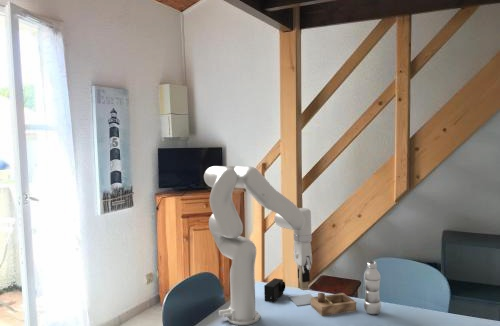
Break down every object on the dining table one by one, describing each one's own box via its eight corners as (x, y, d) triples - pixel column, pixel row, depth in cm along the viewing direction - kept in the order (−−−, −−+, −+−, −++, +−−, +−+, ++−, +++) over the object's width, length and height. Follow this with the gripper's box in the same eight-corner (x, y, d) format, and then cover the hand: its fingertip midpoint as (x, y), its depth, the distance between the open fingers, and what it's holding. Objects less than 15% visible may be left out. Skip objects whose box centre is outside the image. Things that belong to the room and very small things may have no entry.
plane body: (321, 316, 156) (321, 299, 156) (310, 305, 166) (310, 290, 166) (356, 310, 160) (356, 294, 160) (343, 301, 170) (343, 286, 170)
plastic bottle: (363, 315, 156) (362, 264, 155) (364, 308, 162) (364, 259, 161) (380, 317, 154) (380, 265, 153) (381, 310, 160) (380, 260, 159)
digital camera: (276, 303, 170) (275, 287, 169) (264, 301, 172) (264, 285, 172) (285, 295, 179) (285, 279, 178) (274, 293, 181) (274, 277, 181)
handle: (311, 291, 169) (310, 256, 168) (296, 290, 170) (295, 256, 170) (312, 287, 174) (311, 253, 173) (297, 286, 175) (296, 252, 174)
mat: (297, 306, 166) (297, 305, 166) (288, 297, 176) (288, 296, 176) (319, 303, 169) (319, 302, 169) (309, 294, 178) (309, 293, 178)
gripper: (287, 234, 178) (288, 274, 179) (302, 243, 162) (303, 287, 163) (303, 232, 180) (304, 272, 181) (319, 241, 164) (320, 285, 165)
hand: (303, 279), depth 172 cm, fingers closed on handle, 4 cm apart
